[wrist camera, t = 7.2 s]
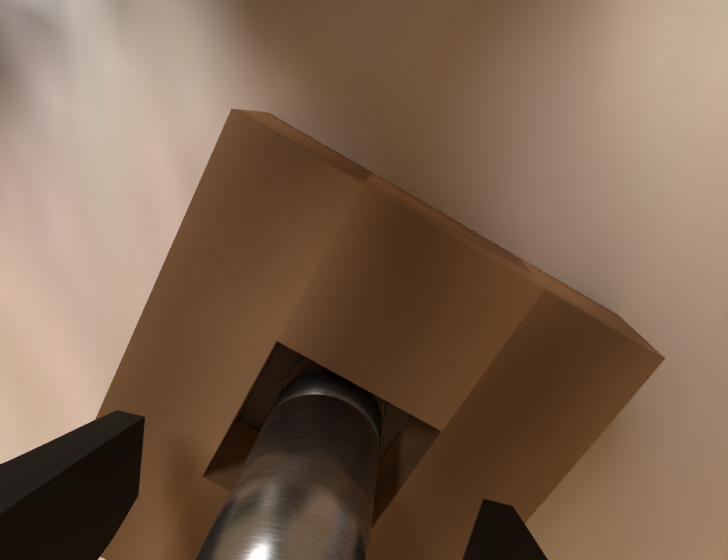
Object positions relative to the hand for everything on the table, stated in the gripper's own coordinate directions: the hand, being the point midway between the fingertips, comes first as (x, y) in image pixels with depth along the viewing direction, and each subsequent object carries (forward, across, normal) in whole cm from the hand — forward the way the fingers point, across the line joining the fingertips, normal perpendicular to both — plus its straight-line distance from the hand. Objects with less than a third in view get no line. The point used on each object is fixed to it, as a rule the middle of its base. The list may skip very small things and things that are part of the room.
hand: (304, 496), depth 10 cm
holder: (+4, 0, 0) cm, 4 cm away
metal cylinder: (+4, 0, 0) cm, 4 cm away
